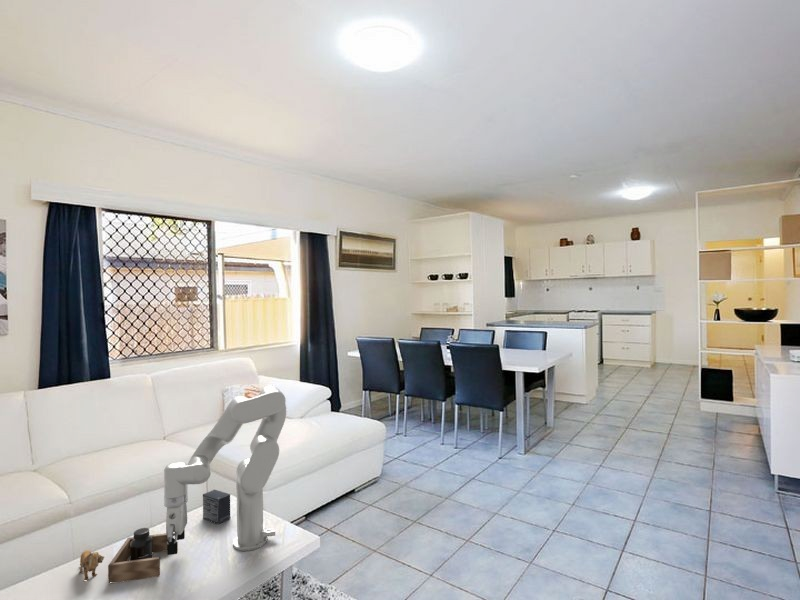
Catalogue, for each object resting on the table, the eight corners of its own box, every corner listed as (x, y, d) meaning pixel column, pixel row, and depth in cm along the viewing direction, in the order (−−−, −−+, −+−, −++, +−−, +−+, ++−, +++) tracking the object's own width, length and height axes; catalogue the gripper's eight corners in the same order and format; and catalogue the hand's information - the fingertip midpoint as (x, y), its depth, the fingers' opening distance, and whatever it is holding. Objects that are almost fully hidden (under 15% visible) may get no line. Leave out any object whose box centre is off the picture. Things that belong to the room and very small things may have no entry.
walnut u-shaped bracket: (173, 548, 166) (172, 532, 166) (158, 576, 149) (158, 558, 149) (128, 554, 163) (128, 537, 163) (108, 583, 146) (108, 565, 146)
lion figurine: (106, 577, 150) (105, 550, 149) (88, 585, 145) (87, 558, 145) (88, 562, 158) (87, 537, 158) (70, 570, 154) (70, 544, 154)
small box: (231, 518, 189) (231, 493, 189) (218, 524, 183) (218, 499, 183) (215, 512, 194) (215, 488, 194) (202, 518, 189) (201, 494, 189)
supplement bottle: (142, 572, 152) (141, 537, 152) (125, 569, 153) (125, 535, 153) (157, 560, 159) (156, 527, 159) (140, 558, 160) (140, 525, 160)
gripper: (181, 508, 151) (181, 558, 151) (192, 487, 168) (193, 532, 168) (157, 511, 149) (157, 561, 149) (171, 489, 166) (171, 535, 166)
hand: (176, 546), depth 159 cm, fingers open, 9 cm apart
